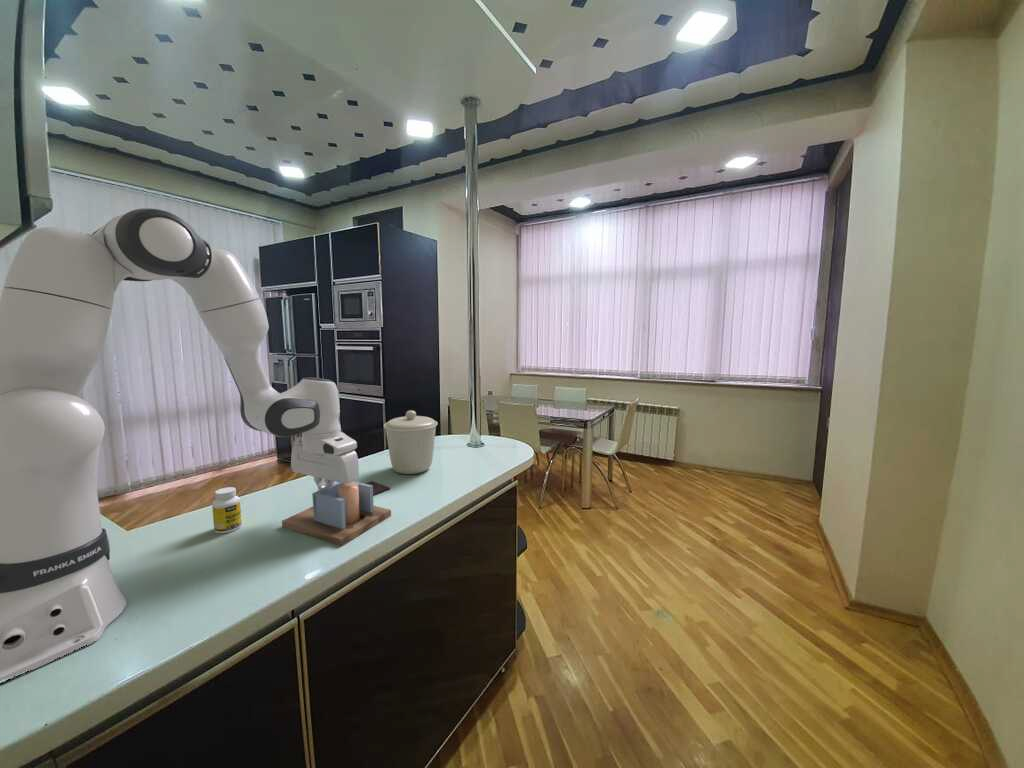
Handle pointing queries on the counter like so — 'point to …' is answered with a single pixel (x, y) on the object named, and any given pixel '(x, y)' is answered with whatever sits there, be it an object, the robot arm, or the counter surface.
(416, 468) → the canister
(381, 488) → the chocolate bar
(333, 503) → the housing
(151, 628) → the counter surface
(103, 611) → the robot arm
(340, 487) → the peg
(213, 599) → the counter surface
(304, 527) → the socket board
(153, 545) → the counter surface
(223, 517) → the supplement bottle
